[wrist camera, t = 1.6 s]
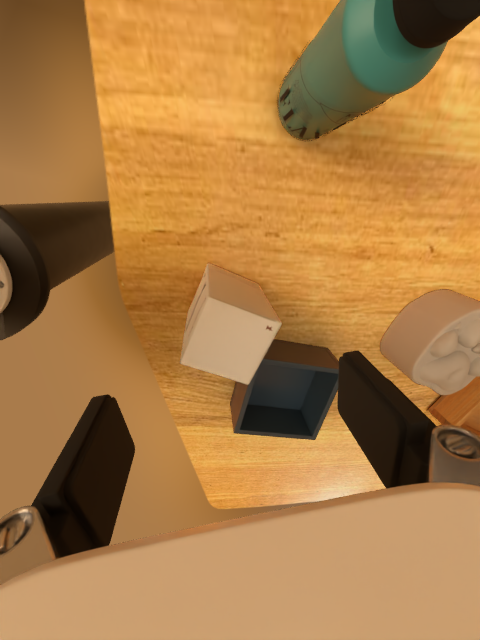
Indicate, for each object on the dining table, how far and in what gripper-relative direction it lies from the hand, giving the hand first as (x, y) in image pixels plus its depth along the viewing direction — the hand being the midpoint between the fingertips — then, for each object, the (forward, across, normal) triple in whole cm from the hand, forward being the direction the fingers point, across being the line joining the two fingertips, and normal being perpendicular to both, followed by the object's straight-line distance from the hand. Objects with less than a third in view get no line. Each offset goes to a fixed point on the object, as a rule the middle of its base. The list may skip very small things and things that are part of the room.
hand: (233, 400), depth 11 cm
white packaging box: (+25, 0, +4) cm, 26 cm away
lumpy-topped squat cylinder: (+25, -30, +14) cm, 41 cm away
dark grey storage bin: (+25, -7, +18) cm, 32 cm away
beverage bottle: (+25, -12, -15) cm, 32 cm away
